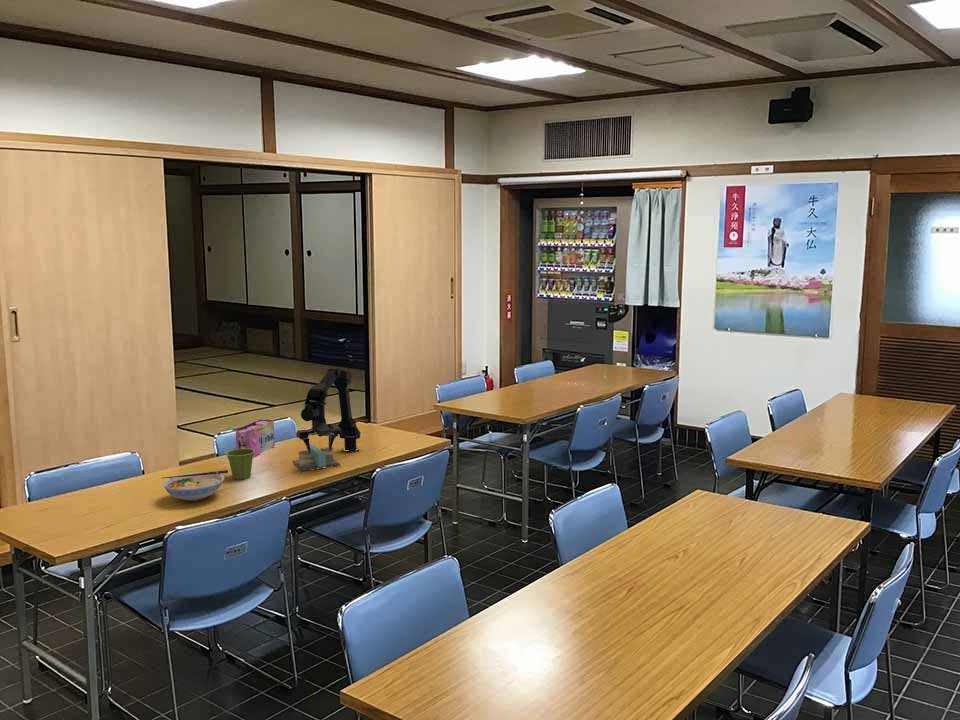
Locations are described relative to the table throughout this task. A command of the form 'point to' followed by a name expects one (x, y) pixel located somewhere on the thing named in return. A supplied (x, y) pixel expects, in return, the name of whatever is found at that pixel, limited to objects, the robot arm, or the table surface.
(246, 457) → the plant pot
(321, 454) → the teal slotted plate
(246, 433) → the gum box
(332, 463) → the slotted base
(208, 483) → the ramen bowl
